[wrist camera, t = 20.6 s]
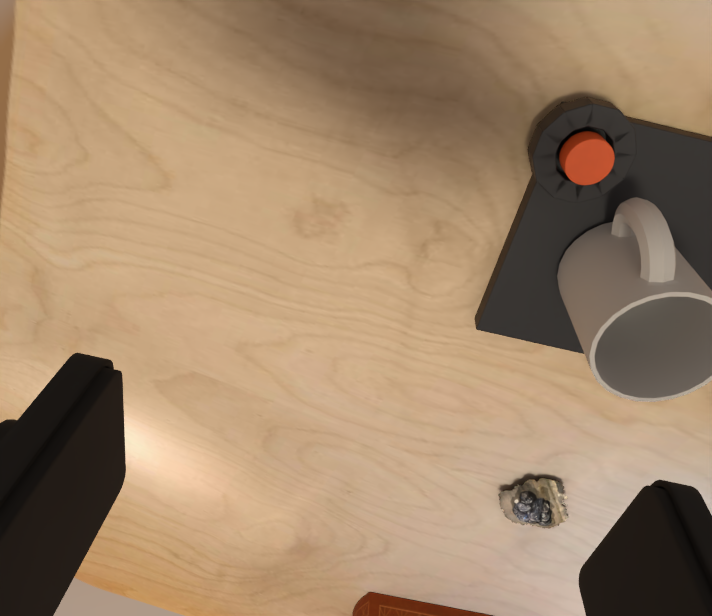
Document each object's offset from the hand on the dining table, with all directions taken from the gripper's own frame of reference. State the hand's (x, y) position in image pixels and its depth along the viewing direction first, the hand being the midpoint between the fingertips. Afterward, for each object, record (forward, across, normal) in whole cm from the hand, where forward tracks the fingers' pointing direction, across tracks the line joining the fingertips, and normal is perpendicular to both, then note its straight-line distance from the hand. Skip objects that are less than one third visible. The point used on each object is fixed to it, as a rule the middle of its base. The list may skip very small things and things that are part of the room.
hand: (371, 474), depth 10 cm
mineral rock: (+28, -21, +32) cm, 48 cm away
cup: (+27, -15, +6) cm, 32 cm away
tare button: (+26, -10, 0) cm, 28 cm away
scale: (+28, -16, +6) cm, 33 cm away
